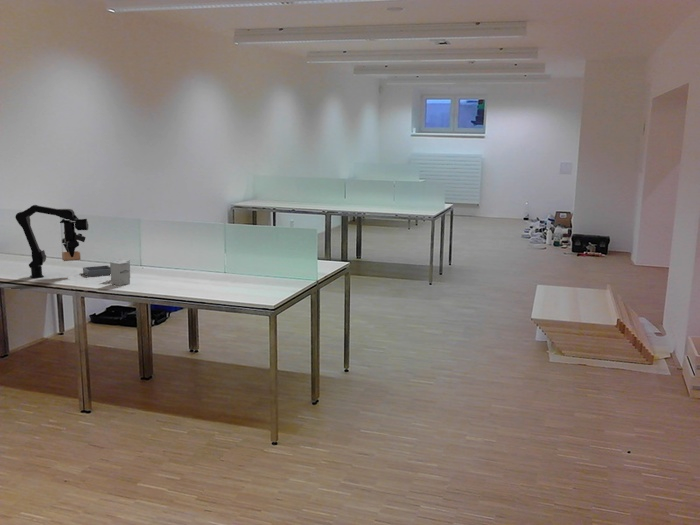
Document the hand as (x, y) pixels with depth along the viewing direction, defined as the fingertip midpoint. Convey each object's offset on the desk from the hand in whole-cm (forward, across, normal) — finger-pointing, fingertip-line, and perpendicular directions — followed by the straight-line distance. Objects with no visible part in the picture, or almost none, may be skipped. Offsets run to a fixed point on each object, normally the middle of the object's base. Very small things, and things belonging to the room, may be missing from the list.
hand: (71, 256), depth 374 cm
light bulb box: (+12, -24, -22) cm, 35 cm away
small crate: (+2, 0, 0) cm, 2 cm away
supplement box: (+12, -39, -18) cm, 45 cm away
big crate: (+12, 0, -15) cm, 19 cm away
